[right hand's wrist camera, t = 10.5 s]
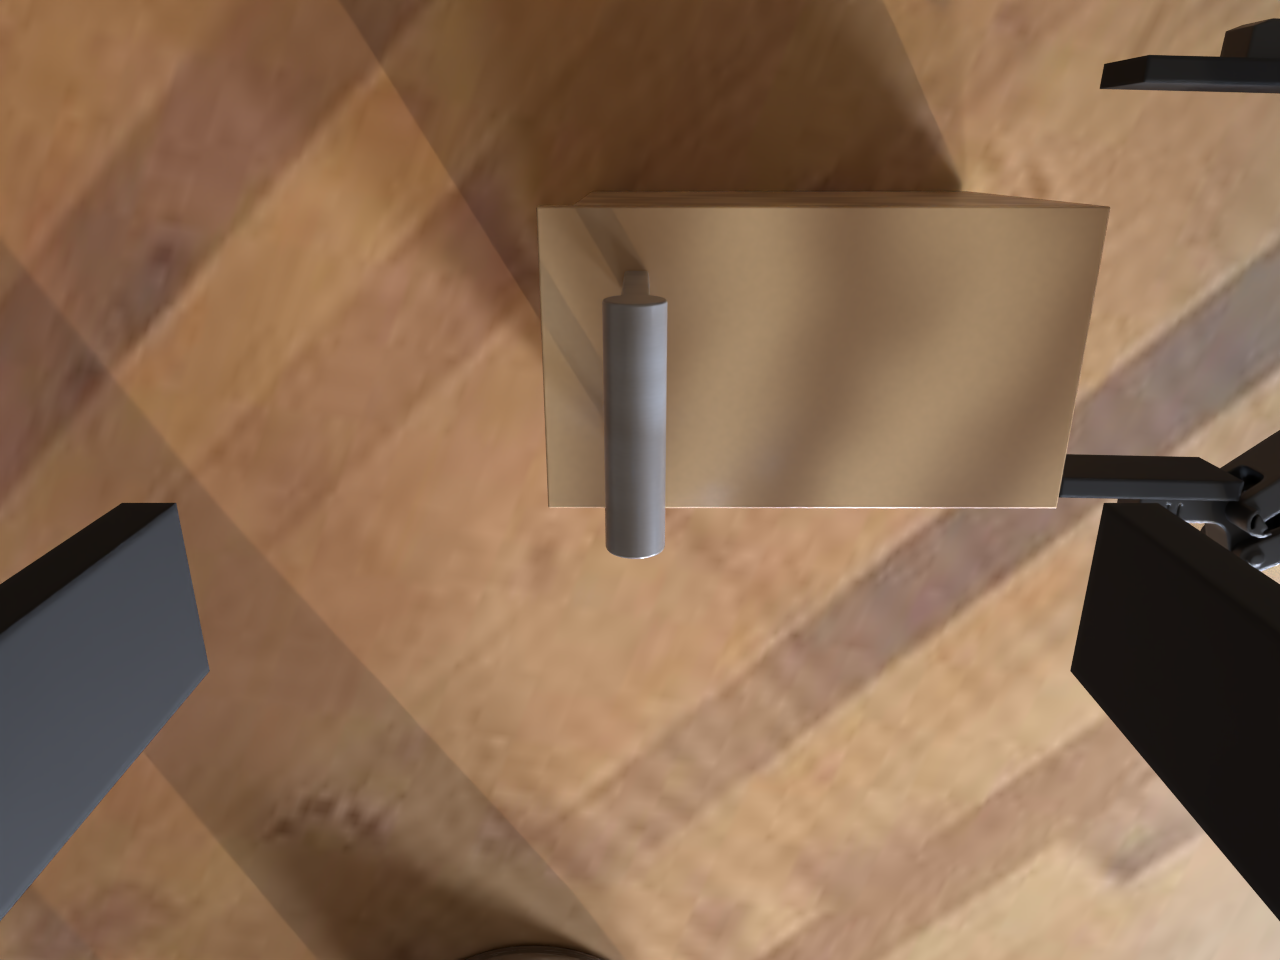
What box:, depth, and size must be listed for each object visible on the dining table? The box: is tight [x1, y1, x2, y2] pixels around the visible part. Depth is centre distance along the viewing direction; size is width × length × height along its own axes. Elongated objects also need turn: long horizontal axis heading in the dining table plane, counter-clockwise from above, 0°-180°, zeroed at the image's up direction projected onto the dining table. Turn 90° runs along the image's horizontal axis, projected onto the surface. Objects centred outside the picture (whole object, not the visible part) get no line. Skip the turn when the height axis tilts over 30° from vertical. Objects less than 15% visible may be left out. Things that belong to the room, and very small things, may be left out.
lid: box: [537, 205, 1110, 559], centre depth 23 cm, size 16×9×8 cm, turn 90°
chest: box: [574, 191, 1089, 205], centre depth 32 cm, size 15×9×10 cm, turn 90°
